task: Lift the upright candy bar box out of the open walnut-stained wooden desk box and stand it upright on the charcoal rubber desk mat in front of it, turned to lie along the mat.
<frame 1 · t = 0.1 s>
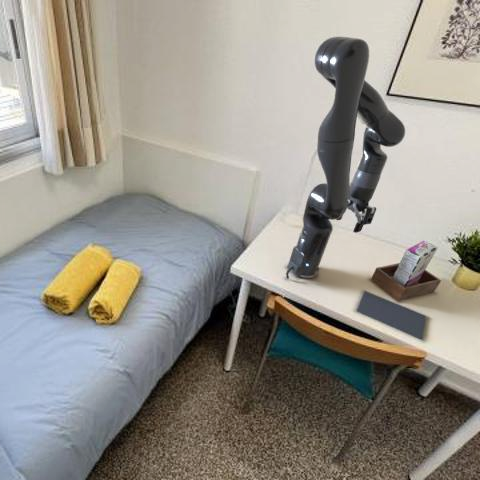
hand: (346, 225, 122), 17 cm above the table, tool pointing down, fingers open, 8 cm apart
desk box: (401, 286, 122), on the table
candy bar box: (401, 286, 122), resting in desk box
desk mat: (390, 313, 110), on the table
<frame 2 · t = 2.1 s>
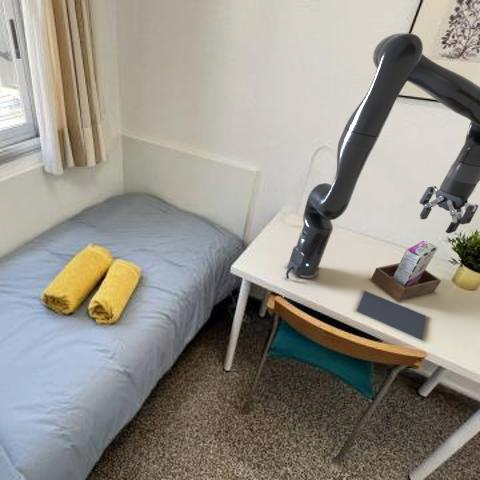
hand: (435, 225, 109), 25 cm above the table, tool pointing down, fingers open, 8 cm apart
nothing on the table moved.
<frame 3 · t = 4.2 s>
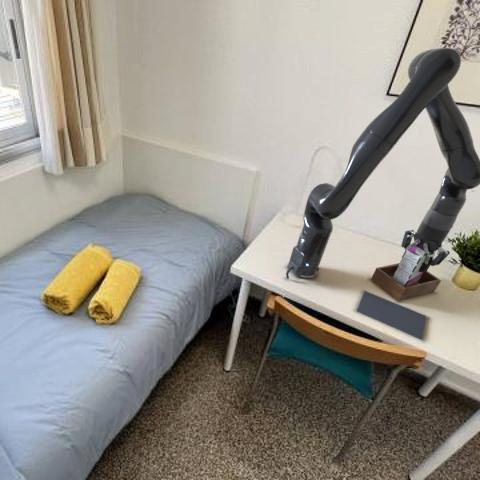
hand: (413, 265, 117), 9 cm above the table, tool pointing down, fingers closed on candy bar box, 5 cm apart
candy bar box: (401, 286, 122), resting in desk box, touching gripper
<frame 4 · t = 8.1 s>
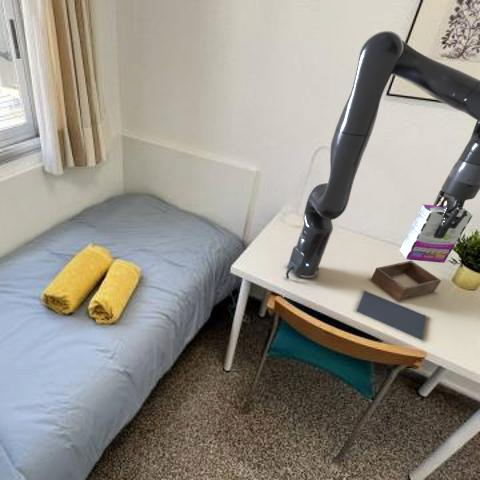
hand: (434, 231, 100), 27 cm above the table, tool pointing down, fingers closed on candy bar box, 5 cm apart
candy bar box: (420, 257, 106), point 18 cm above the table, touching gripper
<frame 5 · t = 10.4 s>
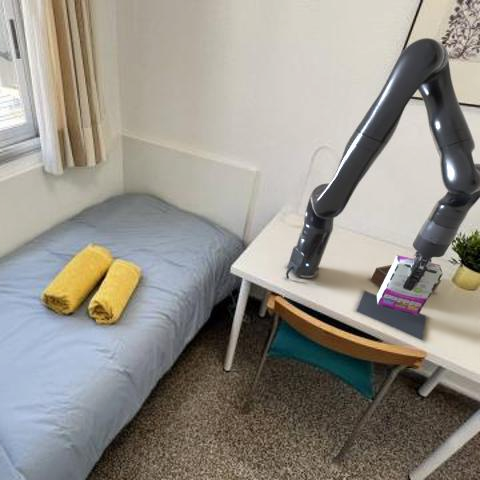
hand: (408, 283, 103), 13 cm above the table, tool pointing down, fingers closed on candy bar box, 5 cm apart
candy bar box: (395, 305, 109), point 3 cm above the table, touching gripper
when the fingers open (9 cm above the table, at t = 11.9 s): candy bar box stays where it is, resting on desk mat.
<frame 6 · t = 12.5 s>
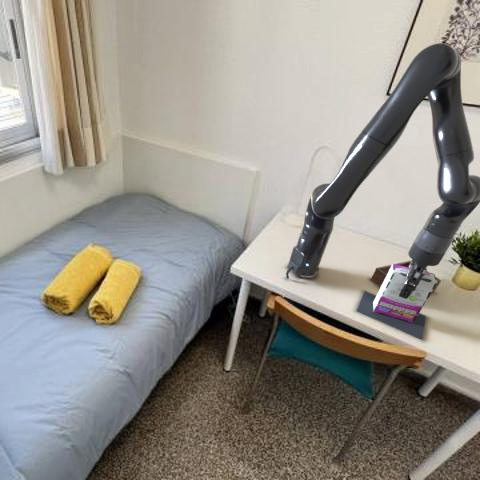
hand: (404, 289, 105), 10 cm above the table, tool pointing down, fingers open, 8 cm apart
candy bar box: (391, 313, 110), resting on desk mat
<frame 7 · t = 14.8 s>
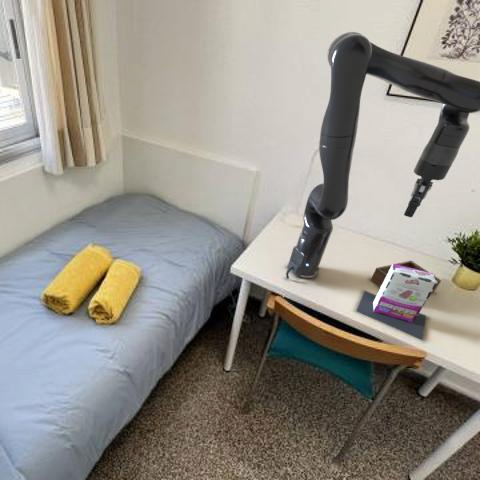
hand: (409, 211, 105), 30 cm above the table, tool pointing down, fingers open, 8 cm apart
nothing on the table moved.
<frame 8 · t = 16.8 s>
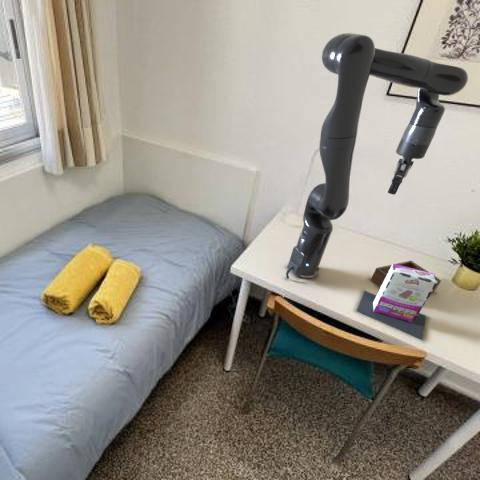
hand: (393, 189, 113), 32 cm above the table, tool pointing down, fingers open, 8 cm apart
nothing on the table moved.
at the end: candy bar box inside the target area on the desk mat (0.2 cm from its centre), point 0.2 cm above the desk mat's base; candy bar box tilted 0°; the gripper is holding nothing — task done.
